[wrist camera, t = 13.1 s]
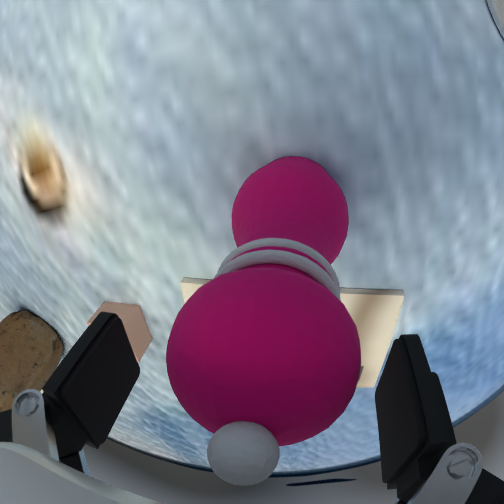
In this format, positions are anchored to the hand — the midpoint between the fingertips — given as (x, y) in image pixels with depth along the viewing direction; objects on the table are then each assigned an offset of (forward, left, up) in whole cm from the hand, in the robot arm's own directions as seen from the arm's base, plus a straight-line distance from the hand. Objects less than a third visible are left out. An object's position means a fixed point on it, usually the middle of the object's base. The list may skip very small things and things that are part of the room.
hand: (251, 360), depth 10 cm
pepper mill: (0, 0, -16) cm, 16 cm away
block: (+38, +21, -16) cm, 46 cm away
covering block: (+18, +14, -16) cm, 28 cm away
